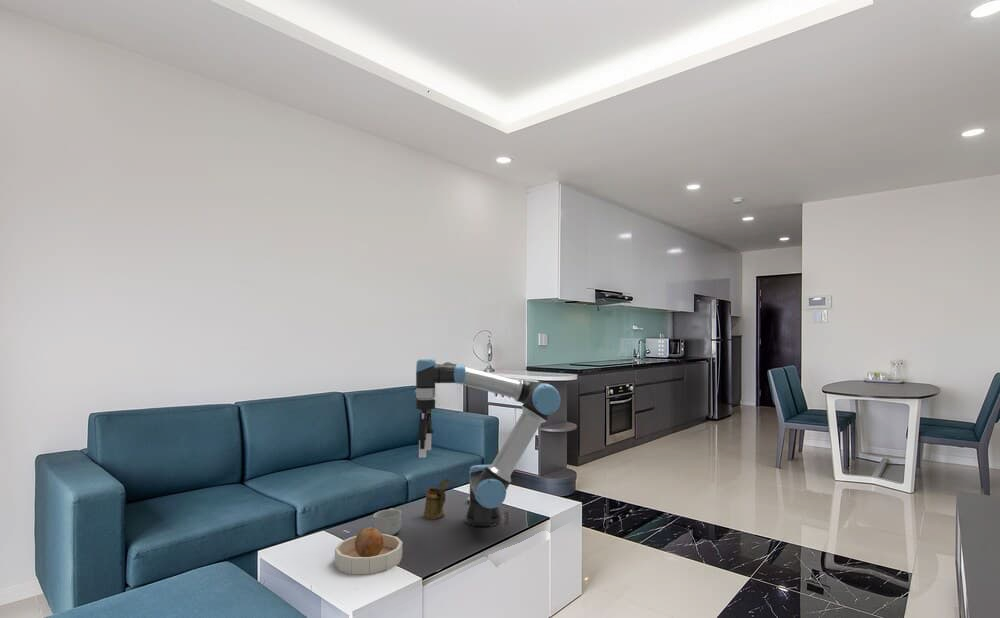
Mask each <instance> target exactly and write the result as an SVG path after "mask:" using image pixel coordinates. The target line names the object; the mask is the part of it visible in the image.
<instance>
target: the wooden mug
mask: <svg viewBox="0 0 1000 618" xmlns="http://www.w3.org/2000/svg"><path fill="white" fill-rule="evenodd" d="M450 484H451V478H450V477H449V476H448V477H446V478H445V479H443V480H442V481H441V482H440V483H439V484H438V487H430V488H428V489H427V490H426V494H425V497H426V499H425V504H424V510H423V516H422V517H423V519H426V520H438V519H439V520H440V519H442V518H444V517H445V510H444V505H445V503H446V498H447V497H446V491H445V490H446V489H447V487H449V485H450Z"/></svg>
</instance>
